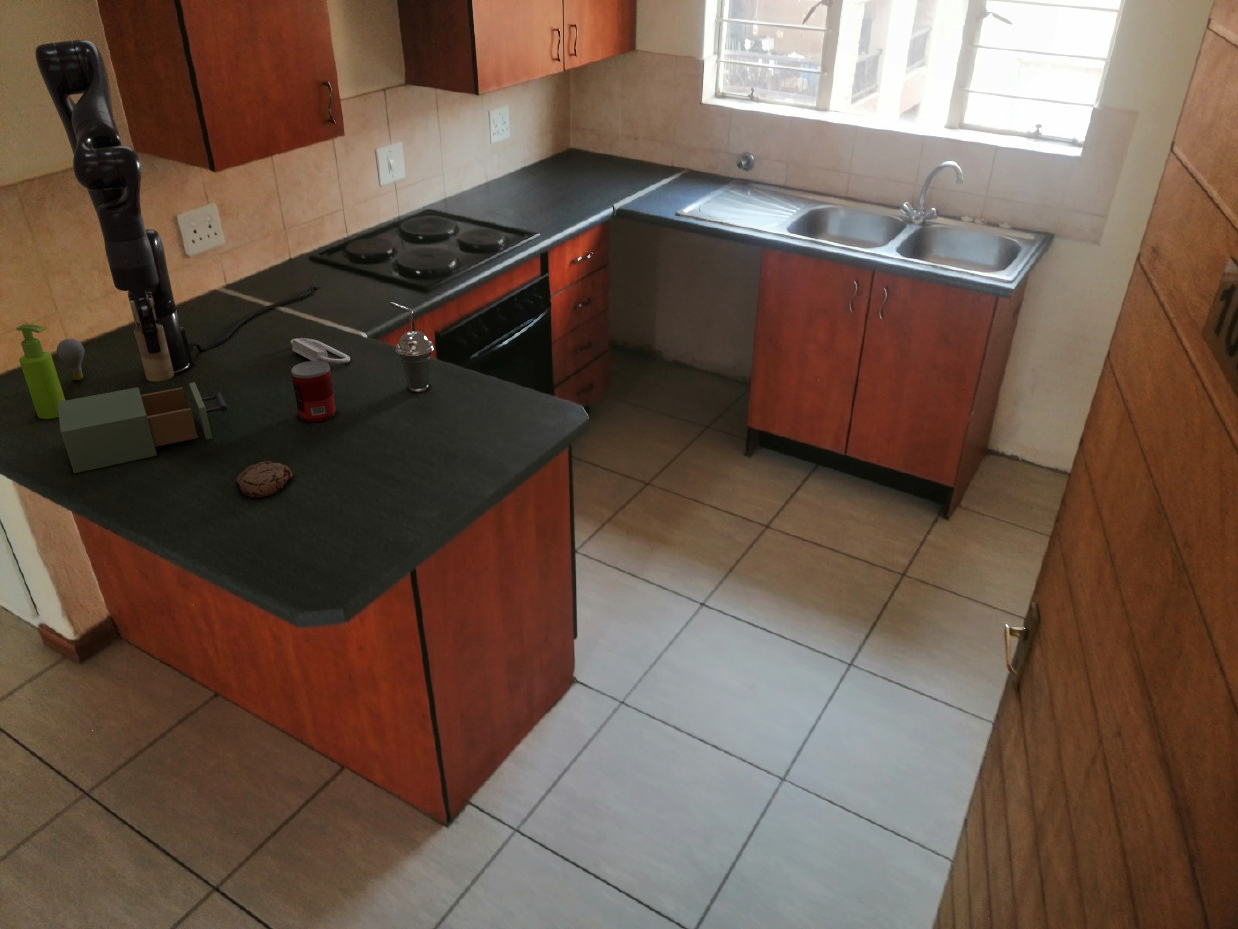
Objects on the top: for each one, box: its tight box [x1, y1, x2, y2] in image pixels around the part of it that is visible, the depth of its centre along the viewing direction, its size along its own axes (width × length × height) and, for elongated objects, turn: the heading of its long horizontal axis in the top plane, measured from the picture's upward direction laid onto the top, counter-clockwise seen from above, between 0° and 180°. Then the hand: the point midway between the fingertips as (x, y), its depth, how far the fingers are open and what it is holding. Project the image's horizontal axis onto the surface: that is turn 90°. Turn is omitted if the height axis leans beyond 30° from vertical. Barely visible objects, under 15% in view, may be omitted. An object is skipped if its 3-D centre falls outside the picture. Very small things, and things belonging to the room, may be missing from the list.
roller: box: [133, 324, 175, 383], centre depth 179 cm, size 5×5×12 cm
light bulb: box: [56, 338, 85, 381], centre depth 215 cm, size 6×6×10 cm
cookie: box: [236, 460, 294, 498], centre depth 177 cm, size 10×11×3 cm
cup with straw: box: [389, 301, 435, 393], centre depth 211 cm, size 8×9×20 cm
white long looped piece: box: [289, 337, 351, 364], centre depth 230 cm, size 20×8×4 cm, turn 47°
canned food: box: [290, 360, 337, 423], centre depth 200 cm, size 8×8×11 cm
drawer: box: [140, 382, 228, 448], centre depth 193 cm, size 18×14×7 cm
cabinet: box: [57, 387, 158, 474], centre depth 187 cm, size 15×15×9 cm
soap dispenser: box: [16, 324, 66, 420], centre depth 197 cm, size 6×7×20 cm
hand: (153, 347), depth 179 cm, fingers closed on roller, 5 cm apart
